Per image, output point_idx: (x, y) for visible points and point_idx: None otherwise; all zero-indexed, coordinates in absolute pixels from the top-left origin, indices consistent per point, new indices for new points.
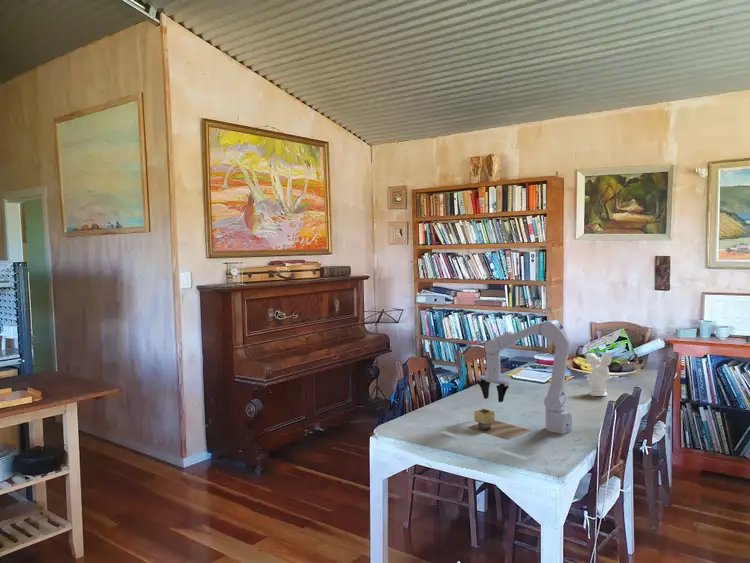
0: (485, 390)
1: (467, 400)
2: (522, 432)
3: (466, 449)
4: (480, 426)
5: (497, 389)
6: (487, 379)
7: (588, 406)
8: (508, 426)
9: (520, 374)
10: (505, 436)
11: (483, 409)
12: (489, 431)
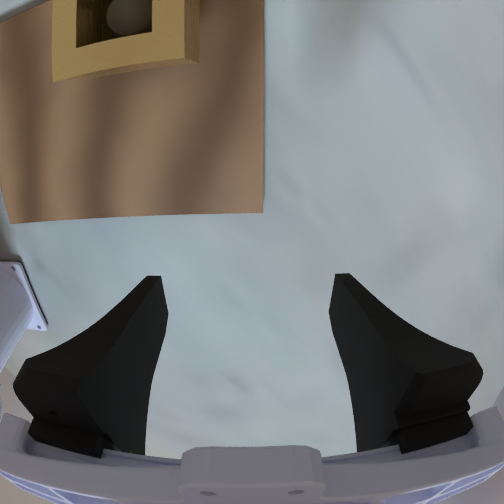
0: (361, 342)
1: (486, 351)
2: (6, 165)
3: None
4: None
5: (96, 356)
6: (273, 496)
7: None
8: (100, 181)
9: None
10: (9, 49)
11: (162, 37)
12: None
